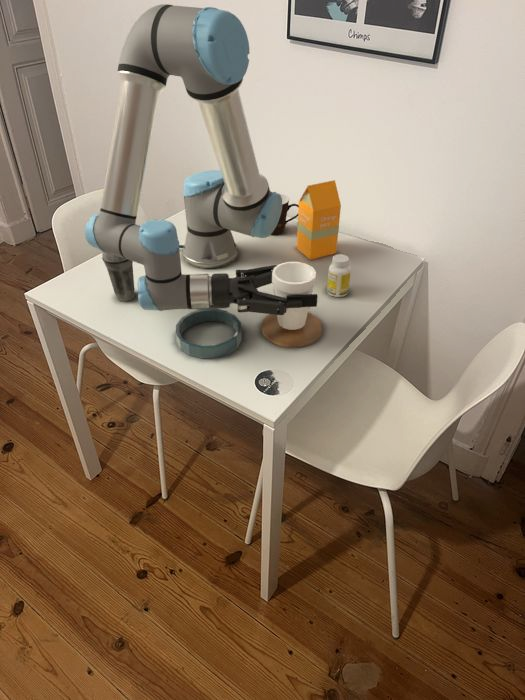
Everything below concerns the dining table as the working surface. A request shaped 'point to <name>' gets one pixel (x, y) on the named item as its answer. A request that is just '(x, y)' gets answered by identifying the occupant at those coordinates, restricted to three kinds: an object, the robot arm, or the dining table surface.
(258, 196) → the robot arm
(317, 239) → the orange juice
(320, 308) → the dining table surface
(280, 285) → the foam cup
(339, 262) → the supplement bottle
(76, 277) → the dining table surface
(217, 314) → the ring
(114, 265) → the beverage cup
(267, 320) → the wooden coaster
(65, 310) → the dining table surface
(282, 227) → the coffee mug
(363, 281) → the dining table surface
